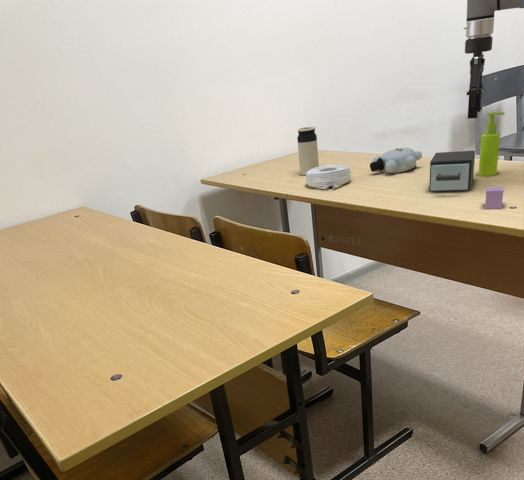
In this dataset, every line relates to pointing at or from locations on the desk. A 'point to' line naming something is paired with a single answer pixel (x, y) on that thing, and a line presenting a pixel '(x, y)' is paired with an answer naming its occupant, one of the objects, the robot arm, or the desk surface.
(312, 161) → the travel mug
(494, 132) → the soap dispenser
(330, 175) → the cable
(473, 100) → the robot arm
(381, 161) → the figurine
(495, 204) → the purple block
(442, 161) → the small drawer cabinet
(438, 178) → the drawer
